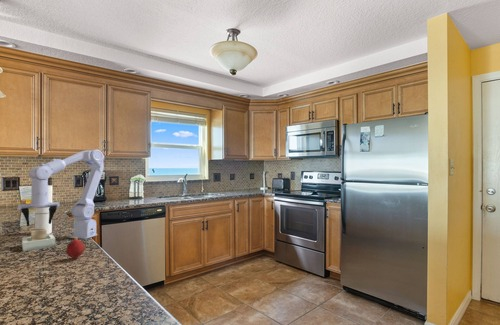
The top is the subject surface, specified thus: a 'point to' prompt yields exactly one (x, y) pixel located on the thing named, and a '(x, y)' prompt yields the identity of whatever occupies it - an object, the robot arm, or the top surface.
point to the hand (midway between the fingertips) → (39, 224)
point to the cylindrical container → (44, 214)
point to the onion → (75, 248)
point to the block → (38, 234)
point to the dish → (38, 243)
